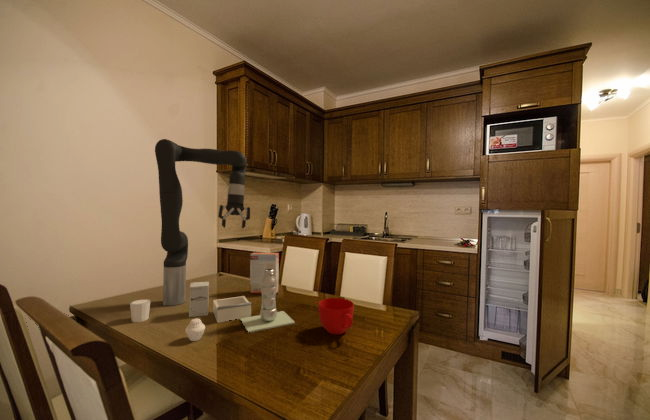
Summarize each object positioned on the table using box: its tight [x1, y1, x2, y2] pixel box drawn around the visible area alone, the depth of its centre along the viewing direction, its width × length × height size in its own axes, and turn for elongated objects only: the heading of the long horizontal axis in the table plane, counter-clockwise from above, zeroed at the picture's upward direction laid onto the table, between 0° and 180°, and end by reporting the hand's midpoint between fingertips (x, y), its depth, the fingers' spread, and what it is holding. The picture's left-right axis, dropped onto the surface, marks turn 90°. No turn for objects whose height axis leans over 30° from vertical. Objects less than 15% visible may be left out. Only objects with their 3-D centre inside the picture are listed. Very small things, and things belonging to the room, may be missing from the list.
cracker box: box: [249, 252, 280, 295], centre depth 147 cm, size 14×6×21 cm, turn 84°
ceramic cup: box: [318, 297, 355, 335], centre depth 100 cm, size 13×17×10 cm
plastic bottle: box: [259, 268, 278, 321], centre depth 109 cm, size 6×7×20 cm
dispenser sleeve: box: [212, 295, 252, 324], centre depth 116 cm, size 13×13×6 cm
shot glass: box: [129, 298, 151, 323], centre depth 110 cm, size 7×7×7 cm
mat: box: [239, 310, 296, 334], centre depth 109 cm, size 18×13×1 cm
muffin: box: [184, 317, 206, 342], centre depth 94 cm, size 6×6×7 cm
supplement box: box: [188, 281, 210, 319], centre depth 117 cm, size 7×7×13 cm
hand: (233, 227), depth 132 cm, fingers open, 8 cm apart
